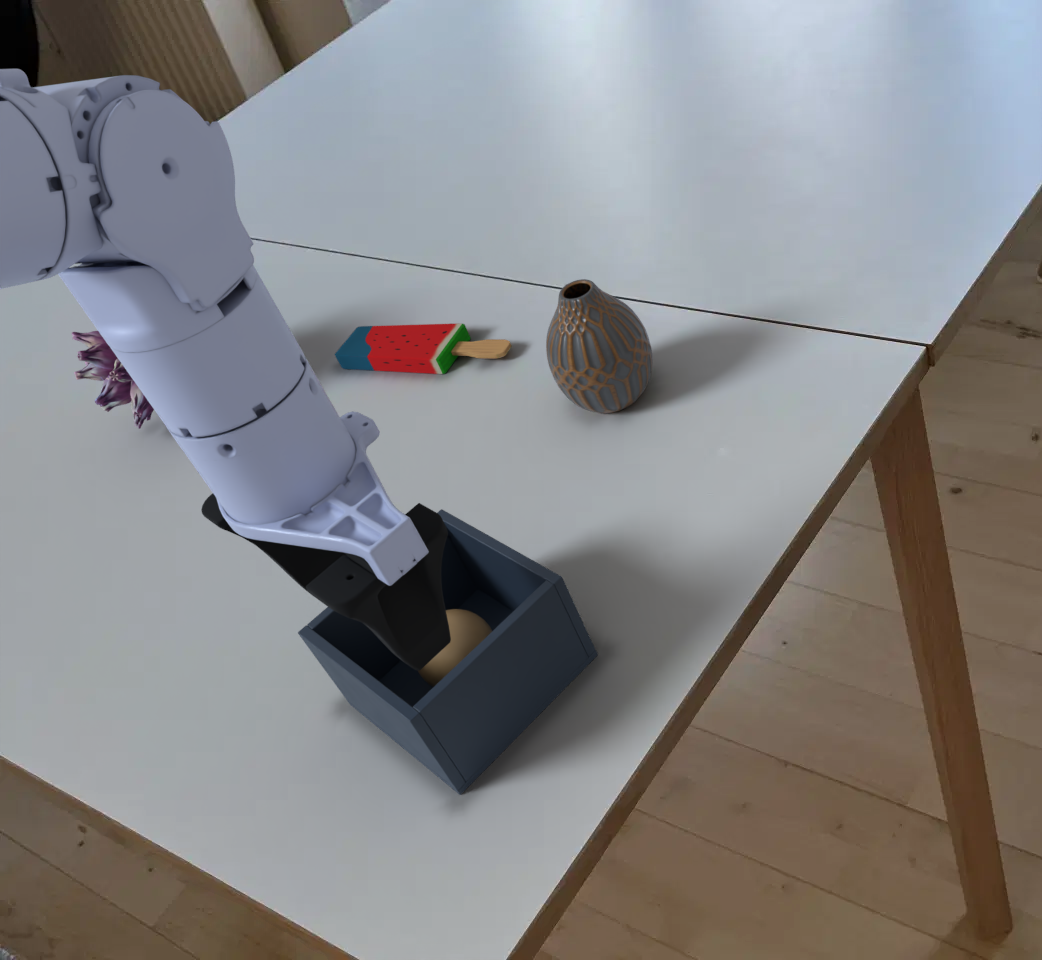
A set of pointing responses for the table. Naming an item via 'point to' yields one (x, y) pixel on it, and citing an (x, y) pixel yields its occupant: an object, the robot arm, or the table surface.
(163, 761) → the table surface
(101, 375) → the flower
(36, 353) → the table surface
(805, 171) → the table surface
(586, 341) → the vase
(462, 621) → the brown ball
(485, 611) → the bin
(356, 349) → the popsicle
